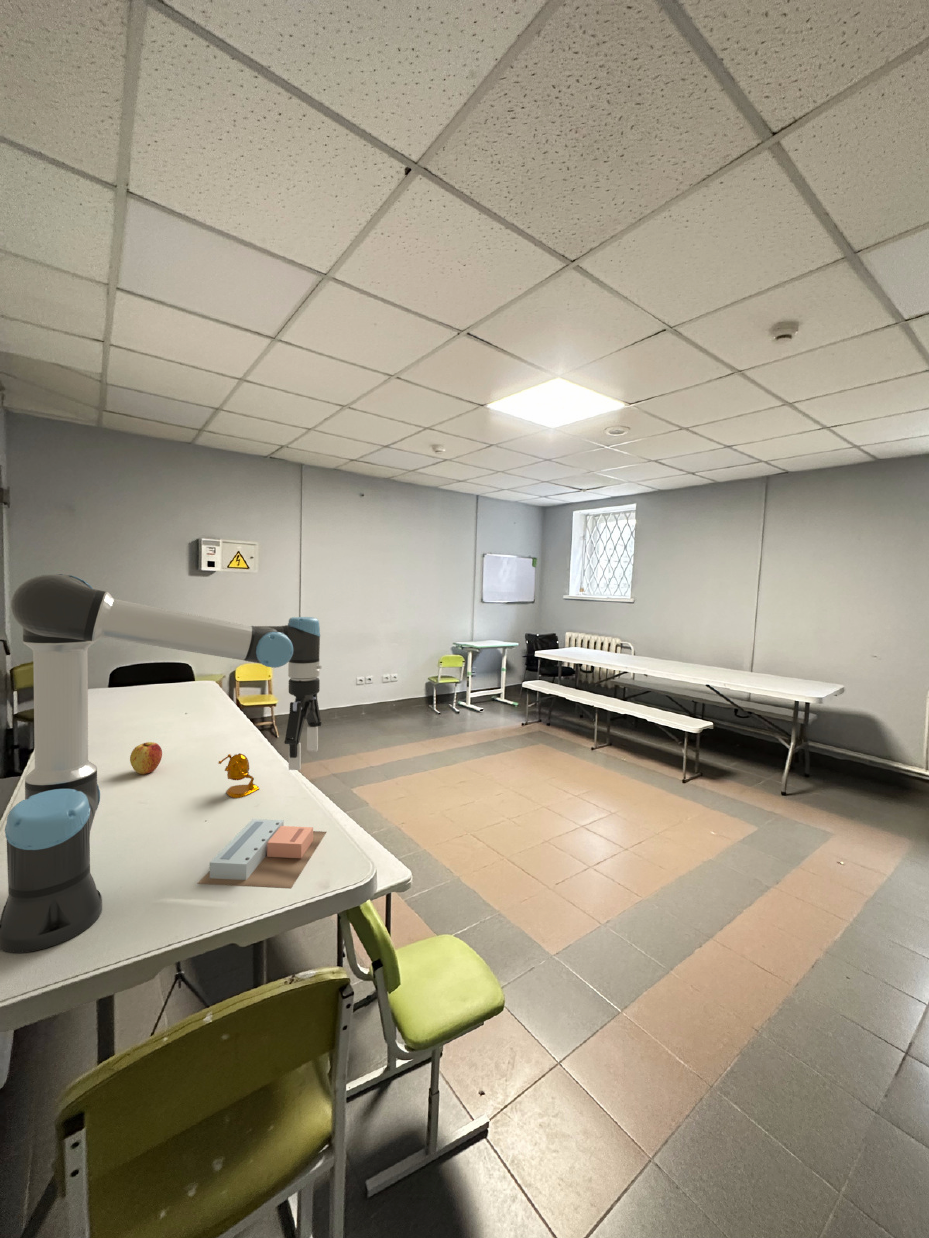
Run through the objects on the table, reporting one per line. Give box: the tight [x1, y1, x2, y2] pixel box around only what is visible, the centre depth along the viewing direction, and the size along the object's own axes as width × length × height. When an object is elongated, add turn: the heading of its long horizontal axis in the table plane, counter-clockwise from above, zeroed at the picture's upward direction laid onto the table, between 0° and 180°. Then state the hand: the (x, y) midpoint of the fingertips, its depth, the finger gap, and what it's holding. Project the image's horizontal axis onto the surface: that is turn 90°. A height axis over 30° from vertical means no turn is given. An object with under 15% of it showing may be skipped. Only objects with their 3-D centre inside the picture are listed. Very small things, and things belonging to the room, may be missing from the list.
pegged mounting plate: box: [209, 818, 285, 880], centre depth 116 cm, size 20×8×4 cm, turn 178°
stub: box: [267, 825, 314, 858], centre depth 119 cm, size 8×8×4 cm
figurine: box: [217, 753, 260, 799], centre depth 152 cm, size 8×11×12 cm
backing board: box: [197, 830, 328, 889], centre depth 116 cm, size 24×20×1 cm
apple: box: [129, 741, 163, 775], centre depth 165 cm, size 9×9×10 cm
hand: (304, 759), depth 128 cm, fingers open, 13 cm apart
